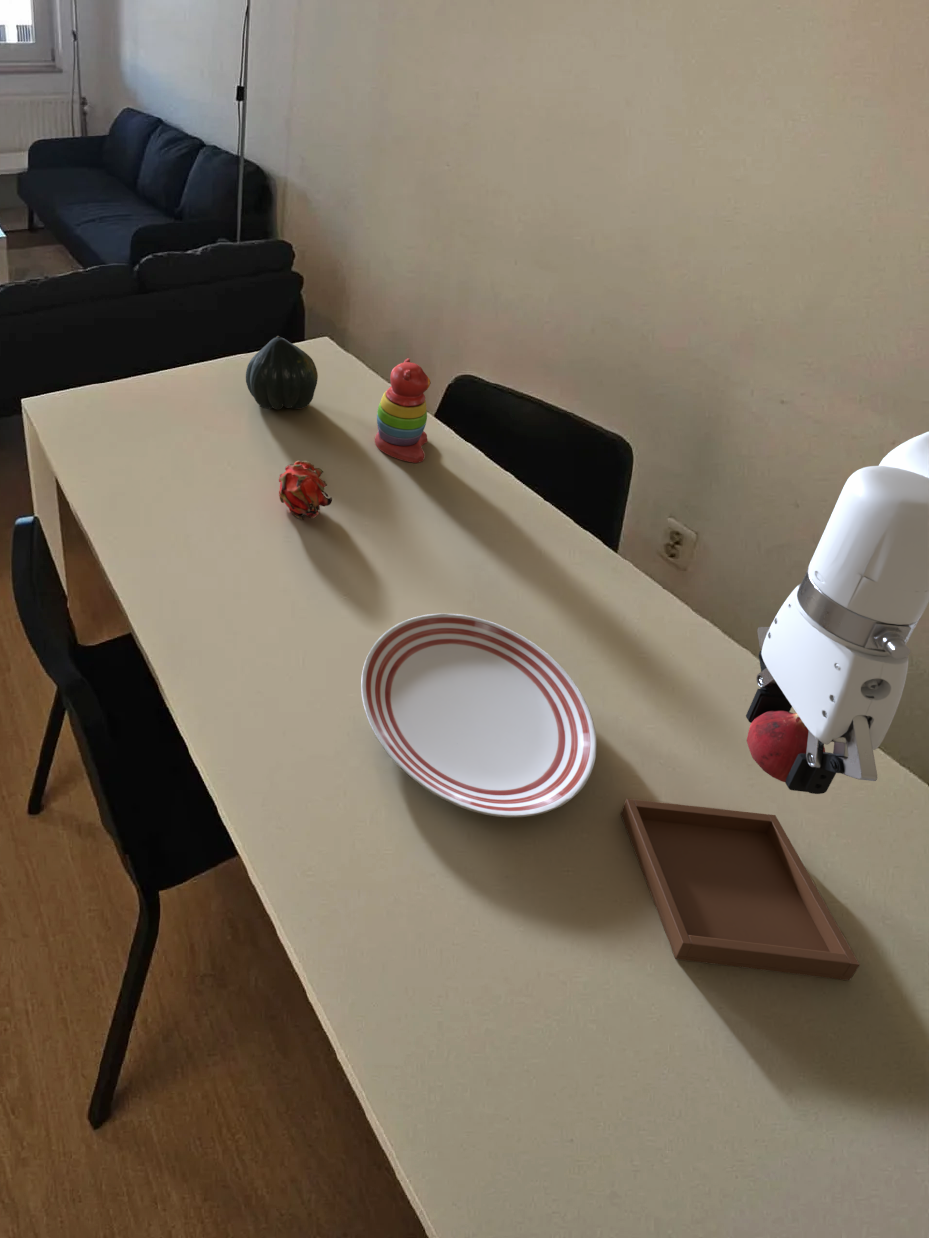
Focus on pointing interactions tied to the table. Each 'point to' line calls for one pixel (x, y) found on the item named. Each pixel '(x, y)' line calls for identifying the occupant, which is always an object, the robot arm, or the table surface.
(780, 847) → the tray
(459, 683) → the dinner plate
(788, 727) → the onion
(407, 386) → the stacking bear
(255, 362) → the squash
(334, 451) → the table surface
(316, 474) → the dragon fruit
